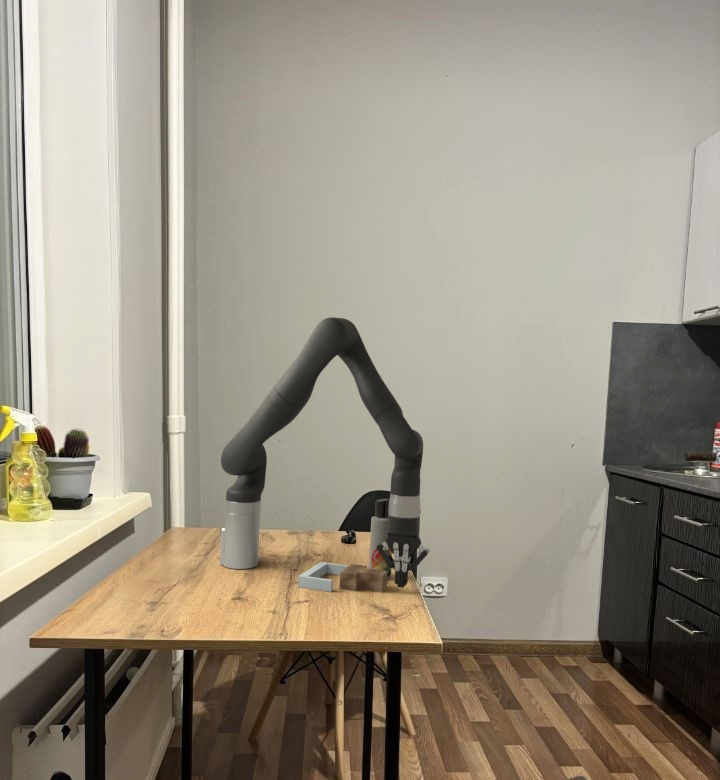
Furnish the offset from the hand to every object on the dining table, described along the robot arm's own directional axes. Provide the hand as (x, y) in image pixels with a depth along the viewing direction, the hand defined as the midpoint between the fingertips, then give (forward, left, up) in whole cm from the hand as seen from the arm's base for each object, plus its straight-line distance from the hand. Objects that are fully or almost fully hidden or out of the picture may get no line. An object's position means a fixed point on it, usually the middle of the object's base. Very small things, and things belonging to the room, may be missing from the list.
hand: (401, 586), depth 137 cm
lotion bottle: (-8, +9, -2) cm, 13 cm away
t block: (-9, 0, -1) cm, 9 cm away
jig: (-20, 0, -1) cm, 20 cm away
